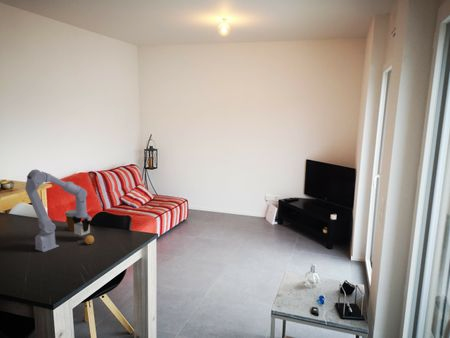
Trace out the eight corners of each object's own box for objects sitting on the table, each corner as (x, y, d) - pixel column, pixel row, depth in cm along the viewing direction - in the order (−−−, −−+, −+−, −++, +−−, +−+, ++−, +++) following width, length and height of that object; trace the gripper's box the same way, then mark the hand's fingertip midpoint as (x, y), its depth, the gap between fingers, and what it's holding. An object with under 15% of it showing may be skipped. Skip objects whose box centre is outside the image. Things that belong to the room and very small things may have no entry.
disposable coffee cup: (78, 232, 217) (77, 214, 215) (63, 232, 217) (62, 213, 215) (84, 227, 226) (83, 209, 224) (70, 226, 226) (69, 209, 224)
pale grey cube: (81, 235, 201) (81, 225, 200) (74, 233, 204) (74, 224, 203) (89, 232, 207) (89, 223, 206) (83, 230, 209) (82, 221, 208)
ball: (89, 246, 196) (88, 237, 195) (83, 244, 199) (82, 236, 198) (96, 243, 201) (95, 235, 200) (90, 241, 203) (89, 233, 202)
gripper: (95, 208, 203) (96, 230, 205) (78, 204, 210) (79, 225, 212) (85, 211, 197) (86, 233, 199) (68, 207, 203) (69, 229, 206)
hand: (82, 229), depth 205 cm, fingers closed on pale grey cube, 6 cm apart
